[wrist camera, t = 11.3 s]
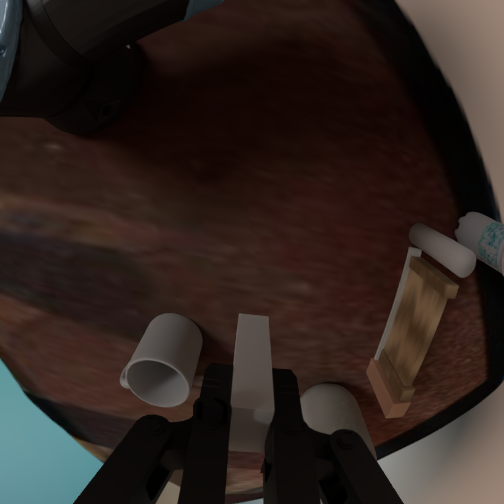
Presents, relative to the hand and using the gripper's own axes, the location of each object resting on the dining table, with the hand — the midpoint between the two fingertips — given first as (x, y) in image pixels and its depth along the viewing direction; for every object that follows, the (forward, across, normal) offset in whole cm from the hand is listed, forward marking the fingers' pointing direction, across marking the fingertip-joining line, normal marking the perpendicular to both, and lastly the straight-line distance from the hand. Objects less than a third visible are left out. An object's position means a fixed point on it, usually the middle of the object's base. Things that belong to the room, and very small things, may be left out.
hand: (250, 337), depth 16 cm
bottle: (+25, +32, +4) cm, 41 cm away
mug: (+25, -11, -19) cm, 33 cm away
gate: (+23, +23, -10) cm, 34 cm away
